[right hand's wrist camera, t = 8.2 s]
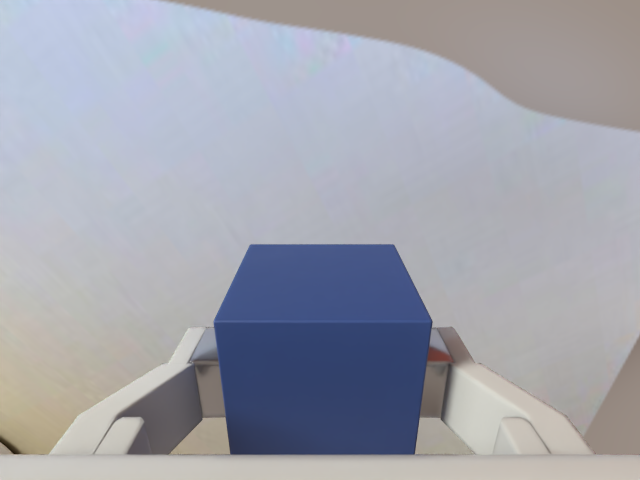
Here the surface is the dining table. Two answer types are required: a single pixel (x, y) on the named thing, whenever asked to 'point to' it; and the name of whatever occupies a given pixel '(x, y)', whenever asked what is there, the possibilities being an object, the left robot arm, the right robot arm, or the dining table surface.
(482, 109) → the dining table surface
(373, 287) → the block
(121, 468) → the right robot arm
